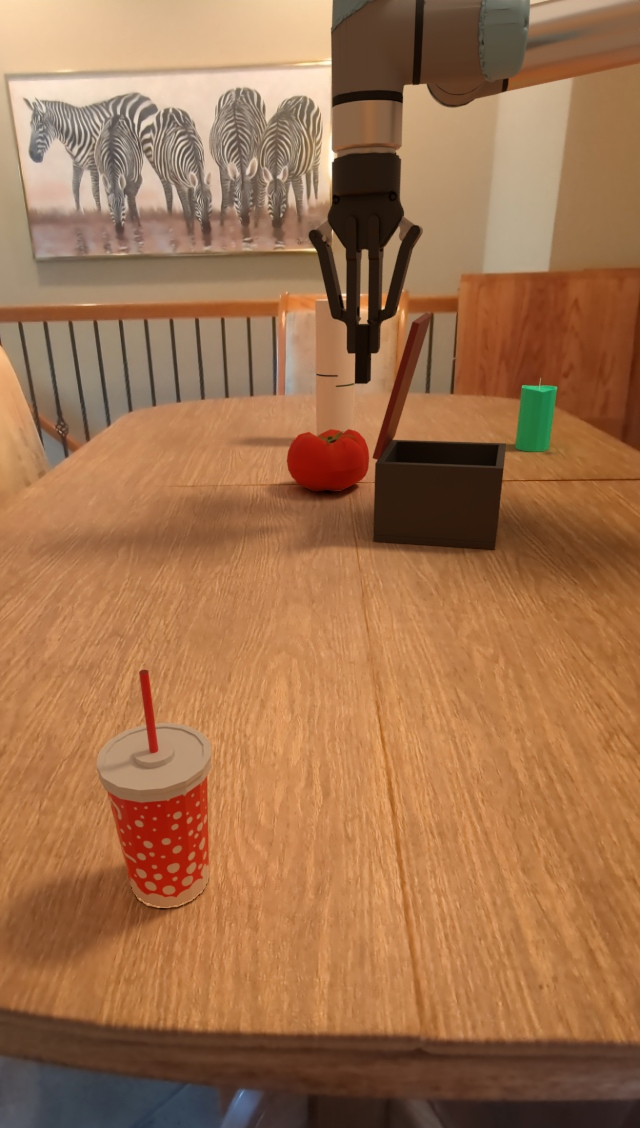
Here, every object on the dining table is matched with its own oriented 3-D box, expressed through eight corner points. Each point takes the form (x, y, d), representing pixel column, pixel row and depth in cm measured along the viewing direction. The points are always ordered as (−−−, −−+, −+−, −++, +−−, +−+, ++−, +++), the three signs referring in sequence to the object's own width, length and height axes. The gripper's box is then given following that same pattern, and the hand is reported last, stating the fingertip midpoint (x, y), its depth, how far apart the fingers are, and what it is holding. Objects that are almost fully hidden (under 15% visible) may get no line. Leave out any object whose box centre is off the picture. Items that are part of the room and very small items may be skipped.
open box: (498, 517, 102) (506, 443, 97) (495, 549, 91) (503, 468, 86) (388, 511, 105) (391, 439, 101) (373, 541, 95) (375, 463, 90)
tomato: (299, 503, 110) (298, 444, 106) (281, 481, 121) (280, 427, 117) (382, 496, 112) (384, 438, 108) (357, 475, 123) (358, 421, 119)
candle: (509, 449, 135) (517, 379, 130) (521, 442, 140) (529, 374, 134) (543, 453, 132) (552, 381, 127) (554, 446, 136) (563, 376, 131)
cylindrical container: (319, 438, 148) (318, 298, 137) (356, 438, 147) (358, 297, 135) (313, 446, 142) (312, 301, 131) (351, 447, 141) (353, 300, 129)
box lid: (432, 314, 93) (425, 312, 93) (419, 323, 82) (412, 321, 82) (394, 437, 101) (388, 435, 101) (378, 460, 90) (372, 458, 90)
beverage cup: (133, 841, 47) (102, 642, 41) (230, 845, 47) (214, 644, 40) (104, 917, 42) (63, 702, 36) (213, 923, 41) (191, 705, 35)
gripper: (431, 154, 83) (420, 377, 94) (316, 162, 87) (318, 377, 97) (423, 146, 77) (412, 387, 88) (299, 155, 80) (303, 386, 91)
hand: (362, 381), depth 92 cm, fingers closed
